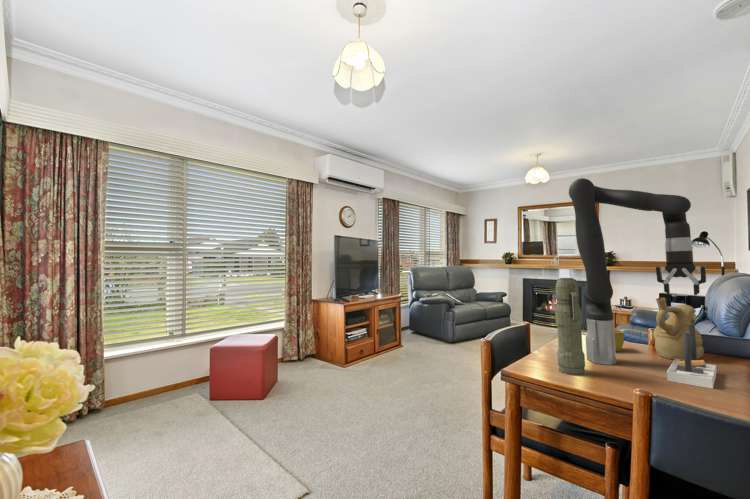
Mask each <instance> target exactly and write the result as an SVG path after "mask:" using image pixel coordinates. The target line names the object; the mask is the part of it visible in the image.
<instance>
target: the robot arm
mask: <svg viewBox="0 0 750 499" xmlns="http://www.w3.org/2000/svg"><path fill="white" fill-rule="evenodd" d="M568 195H569V198H570V199H571V202H572V205H573V209H574V214H575V216H574V217H575V224H574V226H575V237H576V244H577V248H578V249H577V250H578V253H579V256H580V259H581V261H582V264H583V266H584V270H585V276H586V277H585V280H586V283H585V285H584V288H583V298H584V311H585V315H586V316H585V317H586V329H587V333H586V334H587V335H586V336H585V350H586V360H588V361H589V362H591V363H593V364H598V365H599V364H601V365H616V364H617V353H616V352H617V351H616V350H615V335H614V329H615V325H614V324H615V322H614V321H615V320H614V313H613V309H612V298H613V296H614V289H613V286H612V283H611V281H610V280H611V279H610V277H609V273H608V270H607V259H606V258H607V257H606V248H605V240H604V235H603V232H602V227H601V223H600V220H599V216H598V212H597V208H596V204H605V205H611V206H616V207H623V208H627V209H632V210H638V211H644V212H645V211H646V212H660V213H662V219H663V223H664V235H665V244H664V248H665V263H666V264H665V266H656V267H655V274H656V281H657V282H658V283H661V284H663V291H664V293H666V295H670V294H671V293H670V289H671V288H670V284H669V283H670V282H671V280H672V279H673V278H688V279H690V280H691V282H692V283H693V295H694V296H698V294H700V292H701V291H700V285H701V284H705V283H706V282H707V268H706V265H701V266H695V263H694V250H693V248H694V246H693V241H692V237H691V236H692V235H691V226H690V224H689V223H688V220H687V212H689V211H690V208H691V206H692V204H691V201H690V200H689V198H688V197H686V196H682V195H678V194H677V195H676V194H665V193H664V194H663V193H662V194H661V193H652V192H647V191H640V190H630V189H614V188H613V189H612V188H605V187H602V186H601V187H600V186H597V185H595V184H594V183H593V182H592V181H591V180H589V179H587V178H585V177H584V178H582V177H581V178H577V179H575V180H574V181H573V182H572V183H571V184H570V185H569V189H568ZM695 270H697V272H698V273H700V279H699V280H698V279H697V278H696V276H694V275H693V272H695ZM664 271H666V272H667V273H668V275H667V277H665V279H663V275H662V273H663V272H664Z"/></svg>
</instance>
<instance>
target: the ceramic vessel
mask: <svg viewBox="0 0 750 499" xmlns="http://www.w3.org/2000/svg"><path fill="white" fill-rule="evenodd" d="M655 300H656V303H657V308H658V310H657V313H656V316H655V317H656V318H655V319H656V324H657V325H656V326H655V328H654V329H653V333H652V337H653V339H654V347H655V351H656V353H657V355H659V357H661V358H665V359H668V360H669V359H670V360H673V361H674V360H675V359H684V345H683V333H684V332H687V333H689V325H694V324H695V322H696V320H697V319H696V318H697V314H695V313H696V312H697V311H696V309H695V308H694V307H693V306H692V305H689V304H678V305H677V304H676V305H674V306H672V305H671V306H668V304H667V300H666V298H665V297H657V298H655ZM667 314H668V318H667V319H666V320H665V317H666V315H667ZM695 337H696V351H697V360H700V359H701V358H702V357H703V355H704V353H705V348H704V347H703V338H702V335H701V333H700V331H699V329H697V328H696V327H695ZM689 338H690V337H689ZM690 352H691V350H690Z"/></svg>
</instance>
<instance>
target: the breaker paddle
mask: <svg viewBox="0 0 750 499" xmlns="http://www.w3.org/2000/svg"><path fill="white" fill-rule="evenodd" d="M705 362H706V361H705V360H704V359H698V360H692V361H691V365H692V367H693V365H705ZM677 364H678V365H684V366H685V361H678V362H677Z"/></svg>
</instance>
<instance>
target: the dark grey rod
mask: <svg viewBox="0 0 750 499" xmlns="http://www.w3.org/2000/svg"><path fill="white" fill-rule="evenodd" d="M695 328H696V326H695V325H694V324H693V325H689V337H690V350H691V360H697V351H696V337H695Z"/></svg>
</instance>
